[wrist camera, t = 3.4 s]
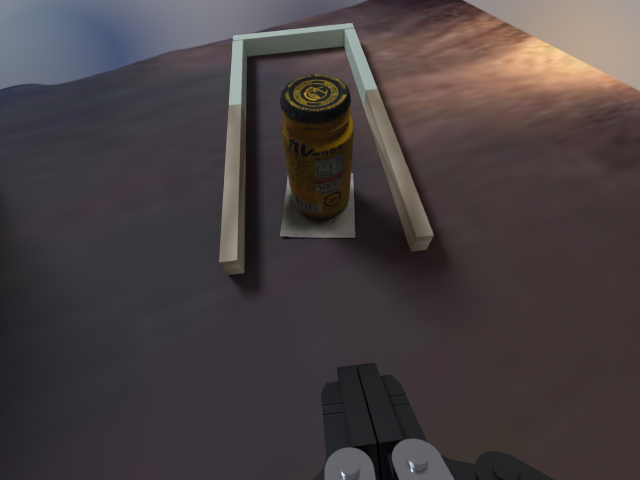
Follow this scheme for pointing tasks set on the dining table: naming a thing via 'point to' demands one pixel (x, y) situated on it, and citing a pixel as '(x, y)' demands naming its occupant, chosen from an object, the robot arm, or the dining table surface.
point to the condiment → (318, 158)
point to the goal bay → (297, 42)
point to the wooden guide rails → (392, 162)
